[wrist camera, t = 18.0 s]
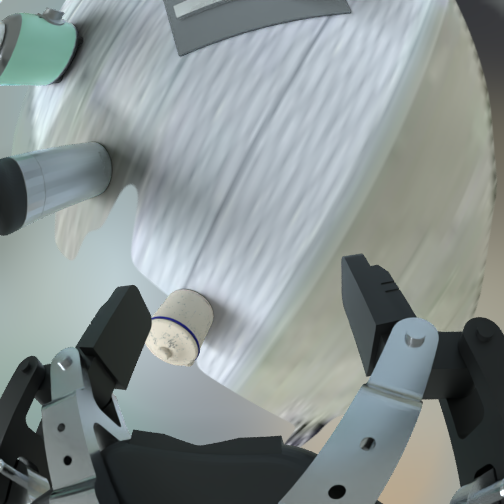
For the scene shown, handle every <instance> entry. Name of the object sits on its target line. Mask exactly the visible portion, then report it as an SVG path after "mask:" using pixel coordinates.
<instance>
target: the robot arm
mask: <svg viewBox="0 0 504 504" xmlns="http://www.w3.org/2000/svg"><path fill="white" fill-rule="evenodd" d="M111 172H112V167H111V160H110V157H109V155H108V152H107V151H106V149H105V148H104V147H103V146H102V145H101V144H99V143H96V142H88V143H80V144H72V145H65V146H59V147H53V148H47V149H42V150H37V151H32V152H27V153H23V154H18V155H14V156H10V157H6V158H3V159H0V235H3V236H4V235H8V234H11V233H13V232H15V231H17V230H19V229H21V228H23V227H25V226H27V225H29V224H31V223H33V222H35V221H37V220H39V219H42V218H44V217H46V216H48V215H50V214H53V213H55V212H57V211H60V210H62V209H64V208H67V207H69V206H72V205H74V204H77V203H79V202H82V201H84V200H87V199H90V198H92V197H95V196H98V195H100V194H101V193H103V192H104V191H105V190H106V188H107V186H108V185H109V182H110V179H111ZM341 267H342V300H343V305H344V309H345V312H346V315H347V317H348V320H349V323H350V326H351V329H352V332H353V335H354V338H355V341H356V344H357V347H358V351H359V354H360V357H361V360H362V363H363V367H364V370H365V373H366V377H367V376H371V377H370V378H369V380H368V382H367V383H366V384H363V385H362V387H361V388H360V390H359V391H358V393H357V395H356V396H355V398H354V400H353V401H352V403H351V405H350V407H349V408H348V410H347V412H346V413H345V415H344V417H343V418H342V420H341V421H340V423H339V424H338V426H337V427H336V429H335V431H334V432H333V434H332V435H331V437H330V438H329V440H328V441H327V443H326V444H325V445H324V447H323V448H322V450H321V451H320V452H319V454H316V453H313V452H312V451H309V450H306V449H303V448H299V447H295V446H290V445H284V443H283V440H282V437H281V436H271V437H250V438H237V439H232V440H228V441H223V442H219V443H213V444H208V445H201V446H198V445H194V444H190V443H187V442H185V441H182V440H179V439H176V438H173V437H171V436H168V435H165V434H160V433H152V432H145V431H139V430H133V432H132V436H131V435H130V433H129V431H128V429H127V426H126V424H125V421H124V418H123V416H122V413H121V410H120V407H119V404H118V401H117V398H116V396H115V395H114V394H113V390H114V389H122V390H126V389H127V386H128V384H129V381H130V378H131V376H132V373H133V371H134V368H135V366H136V363H137V361H138V358H139V356H140V354H141V351H142V348H143V346H144V344H145V342H146V339H147V337H148V335H149V332H150V330H151V327H152V319H151V315H150V313H149V311H148V309H147V307H146V304H145V302H144V300H143V298H142V296H141V294H140V292H139V290H138V288H137V287H136V286H135V285H129V286H121V287H117V288H116V289H115V291H114V292H113V294H112V295H111V297H110V298H109V300H108V301H107V302H106V303H105V304H104V305H103V306H102V307H101V308H100V309H99V311H98V312H97V314H96V315H95V317H94V318H93V320H92V321H91V324H90V325H89V326H88V328H87V330H86V331H85V333H84V334H83V336H82V337H81V339H80V341H79V342H78V344H77V346H76V347H75V348H74V347H68V348H65V349H63V350H61V351H60V352H59V353H58V354H57V355H56V356H55V357H54V358H53V360H52V362H51V364H47V365H42V364H41V363H40V361H39V360H38V359H37V358H36V357H35V356H30V357H27V358H26V359H24V360H23V361H22V362H21V363H20V364H19V366H18V367H17V369H16V371H15V373H14V374H13V376H12V378H11V380H10V381H9V383H8V385H7V387H6V389H5V391H4V393H3V395H2V397H1V399H0V504H382V503H381V502H379V501H378V500H377V499H378V497H379V496H380V494H381V493H382V491H383V489H384V487H385V486H386V484H387V482H388V481H389V479H390V477H391V475H392V473H393V471H394V469H395V468H396V466H397V464H398V462H399V460H400V458H401V456H402V454H403V452H404V449H405V447H406V445H407V443H408V441H409V438H410V436H411V434H412V431H413V429H414V427H415V424H416V422H417V419H418V416H419V414H420V411H421V408H422V404H423V402H422V399H439V402H440V406H441V409H442V412H443V415H444V418H445V422H446V425H447V429H448V432H449V436H450V440H451V444H452V448H453V451H454V456H455V460H456V465H457V469H458V474H459V480H460V486H461V488H460V489H459V490H458V491H457V492H456V493H455V494H454V496H453V497H452V499H451V501H450V504H504V335H503V333H502V331H501V330H500V328H499V327H498V326H497V325H496V324H495V323H494V322H493V321H491V320H489V319H487V318H482V317H478V318H473V319H471V320H469V321H468V322H467V323H466V324H465V327H464V329H463V331H462V332H439V331H437V330H436V328H435V327H434V325H432V324H431V323H430V322H428V321H426V320H424V319H421V318H417V317H416V315H415V314H414V312H413V310H412V309H411V307H410V305H409V304H408V302H407V300H406V299H405V297H404V296H403V294H402V292H401V291H400V290H399V288H398V286H397V285H396V283H394V280H393V278H392V277H391V275H390V274H389V272H388V271H386V270H385V269H383V268H382V267H380V266H379V265H374V266H370V265H369V263H368V261H367V260H366V258H365V257H364V255H363V254H356V255H350V256H343V257H342V261H341ZM34 398H35V399H36V400H38V402H39V403H40V404H41V405H42V419H41V422H40V424H39V426H38V429H37V432H36V433H35V432H33V431H32V430H31V429H30V428H28V426H27V424H26V415H27V412H28V410H29V408H30V406H31V404H32V401H33V399H34ZM17 458H19V460H18V459H17ZM52 486H53V487H52Z"/></svg>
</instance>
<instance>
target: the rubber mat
mask: <svg viewBox="0 0 504 504" xmlns="http://www.w3.org/2000/svg"><path fill="white" fill-rule="evenodd" d="M163 1H164V4H165V8H166V12H167V15H168V19H169V22H170V26H171V29H172V33H173V37H174V40H175V44H176V47H177V51H178V54H179V56H180V57H181V56H183V55H185V54H188V53H190V52H192V51H195V50H197V49H200V48H202V47H205V46H207V45H210V44H213V43H215V42H218V41H221V40H224V39H227V38H230V37H233V36H236V35H239V34H243V33H246V32H249V31H253V30H256V29H260V28H264V27H268V26H272V25H276V24H281V23H285V22H290V21H295V20H301V19H307V18H313V17H320V16H328V15H336V14H347V13H351V10H350V8H349V6H348V4H347V2H346V0H234V1H231V2H228V3H225V4H222V5H219V6H216V7H213V8H211V9H208V10H205V11H203V12H200V13H198V14H195V15H193V16H190V17H188V18H186V19H183V20H181V21H180V20H179V19H177V17H176V14H175V10H174V7H173V6H175V5H177V4H179V3H182V2H184V1H186V0H163Z"/></svg>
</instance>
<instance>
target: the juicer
mask: <svg viewBox="0 0 504 504" xmlns="http://www.w3.org/2000/svg"><path fill="white" fill-rule="evenodd" d="M63 15H64V12H61V11H58V10H54V9H51V8H47V9H46V10H45V12H44V13H43V14H42V15H41V14H39V13H38V14H37V15H35V14H29V13H15V14H12V15H9V16H8V17H6V18H5V19H3V20H2V21H0V86H3V85H4V86H5V85H36V86H45V85H50V84H52V83H54V82H55V83H59V82H60V81H61V80H62V77H63V73H64V72H65V71H66V70H67V68H68V67H69V65H70V64H71V62H72V60H73V57H74V55H75V52H76V49H77V47H79V46H80V45H81V44H82V42H83V38H82V37H78V30H77V28H76V27H75V26H74V25H73V24H71V23H68V22H66V21H65V20H64V19H62V16H63Z"/></svg>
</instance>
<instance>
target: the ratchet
mask: <svg viewBox="0 0 504 504" xmlns="http://www.w3.org/2000/svg"><path fill="white" fill-rule="evenodd" d="M231 1H234V0H186V1H184V2H182V3H179V4H177V5H175V6H173V7H174V10H175V14H176V17H177V19H179V20H180V21H181V20H183V19H186V18H188V17H190V16H193V15H195V14H198V13H200V12H203V11H205V10H208V9H211V8H213V7H216V6H219V5H222V4H225V3H228V2H231Z"/></svg>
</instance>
